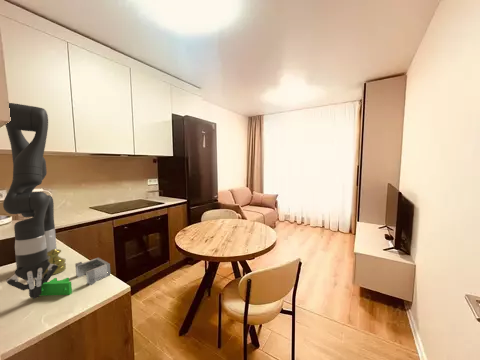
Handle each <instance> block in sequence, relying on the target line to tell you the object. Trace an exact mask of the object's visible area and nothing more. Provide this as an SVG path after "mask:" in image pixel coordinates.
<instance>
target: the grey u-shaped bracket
mask: <svg viewBox="0 0 480 360" xmlns="http://www.w3.org/2000/svg"><path fill="white" fill-rule="evenodd" d="M74 265H75V275H76V277H77V278H80V277H83V276H85V275H86V276H85V277H86V284H87V285H89V286H91V285H94V284H96V282H97V281H99V280H102V279H105V278H107V277H109V276H111V275H110V274H112V273H111V263H109V262H108V261H106V260H104V259H102V258H101V257H96V258H92V259H90V260H87V261H84V262H83V261H79V262H77V263H75V264H74ZM107 272H108V273H107Z"/></svg>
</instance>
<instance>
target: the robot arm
mask: <svg viewBox="0 0 480 360" xmlns="http://www.w3.org/2000/svg"><path fill="white" fill-rule="evenodd" d="M8 103H9V108H10V117H11V121H10V122H9V123H7V124H5V123H4V124H5V125H4V126H5V128H6V132H7V135H8V140H9V143H10V148H11V149H10V150H11V156H12V157H11V158H12V165H13V168H12V180H11V184H10V187H9V189H8V192H7V193H6V195H5V198H4V200H3V203H2V206H3V209H4V211H5V212H6V213H7V214H10V215H19V214H20V215H21V216H22V217H24V218H26V219H22V220H18V221H17V222H16V223H14V225H13V226H14V227H13V228H14V229H13V230H14V239H15V240H14V251H15V252H14V253H15V254H14V255H15V264H16V265H15V267H16V268H15V271H14V274H13V275H12V276H10V277H8V278H7V279H5V281H6V283H7V285H10V286H12V287H14V288H16V289H19V290H21V291H26V290H28V295H29V297H30V299H33V300H35V299H37V298H39V297H40V296H39V295H41V293H42V291H41V285H42V284H43V283H46V282H49V281H50V278H51V277H52V276H53V273H54V272H55V270H56V269H57V268H58V266H57V265H56V264H50V262H49V261H48V260H49V258H50V257H49V256H47V252H49V251H51V250H52V249H58V248H57V238H56V237H57V236H56V227H55V226H56V225H55V215H54V214H55V211H54V210H55V209H54V208H55V207H54V204H55V203H54V199H53V196H51V195H49V194H47V193H46V192H43V191H34V189H35V188H36V187H38V186H40V185H41V184H42V183H43V180H44V179H45V178H46V176H47V173H48V171H47V161H46V158H45V157H44V154H45V149H46V144H47V138H48V130H49V116H48V112H47V110H46V109H45V108H43V107H39V106H33V105H27V104H22V103H21V104H20V103H14V102H8ZM22 131H24V132H35V133H34V136H33V139H32V140H31V141H30V142H29V141H28V140H27V139H26V138H25V136H24V134H23V132H22ZM47 268H48V271H47V272H46V274H45V275H44V272H45V271H46V269H47ZM19 278H20V279H22V280H25V281H26V283H27V284H24V283H23V282H20V281H19Z"/></svg>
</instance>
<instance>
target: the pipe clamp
mask: <svg viewBox="0 0 480 360" xmlns="http://www.w3.org/2000/svg"><path fill="white" fill-rule="evenodd" d="M72 288H73V286H72V281H70V277H65V278H63V279H61V280H58V278H57V277H54V278H52V279H51V280H48V281H47V282H46V283H43V284H42V285H41V291H42V293H41V295H39V297H41V296H42V297H43V296H70V295H72V294H73V289H72Z"/></svg>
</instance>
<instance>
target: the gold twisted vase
mask: <svg viewBox="0 0 480 360" xmlns="http://www.w3.org/2000/svg"><path fill="white" fill-rule="evenodd" d="M60 253H62V250H61V249H60V248H59V249H58V248H57V249H52V250H51V251H49V252H47V256H49V257H50V258H49V260H48V261H49V262H50V264H56V265H57V266H58V268H57V269H56V270H55V272H54V273H53V275H57V274H60V273H62V272H64V271H65V270H66V269H67V264H66V258H65V257H62V256H60V255H59V254H60ZM47 271H48V268H47V269H46V271H45V272H44V274H43V276H44V275H45V274H46V272H47ZM53 275H52V276H53Z"/></svg>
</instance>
